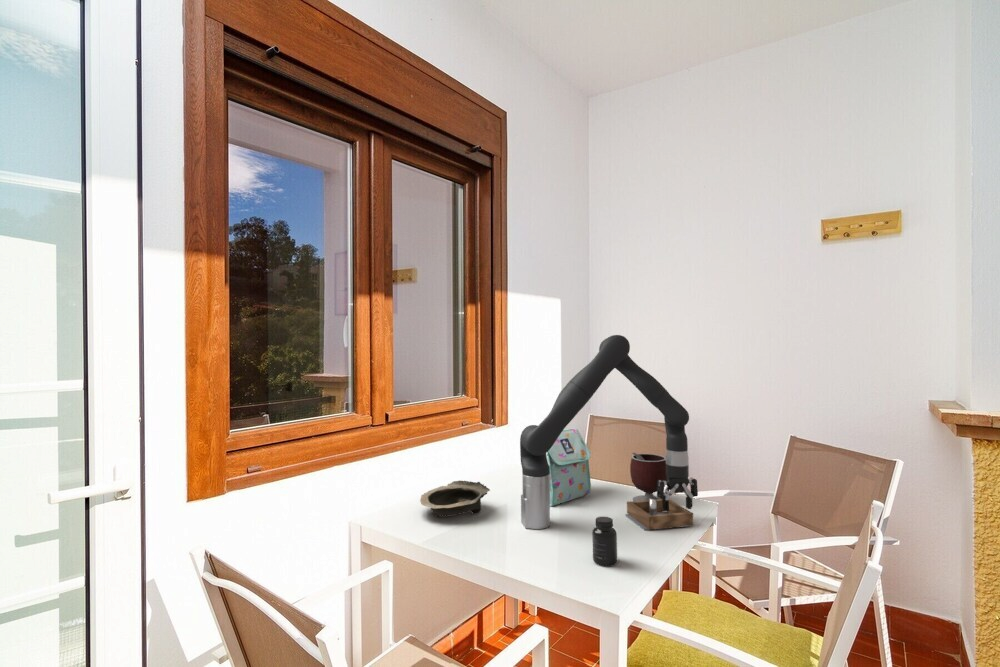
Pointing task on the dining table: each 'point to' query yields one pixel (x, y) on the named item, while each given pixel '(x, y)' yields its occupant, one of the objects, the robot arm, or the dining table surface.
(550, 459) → the lunch bag
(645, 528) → the slate plate
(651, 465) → the mate gourd
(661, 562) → the dining table surface
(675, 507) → the walnut collar
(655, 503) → the steel post
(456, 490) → the stone bowl
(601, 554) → the supplement bottle
